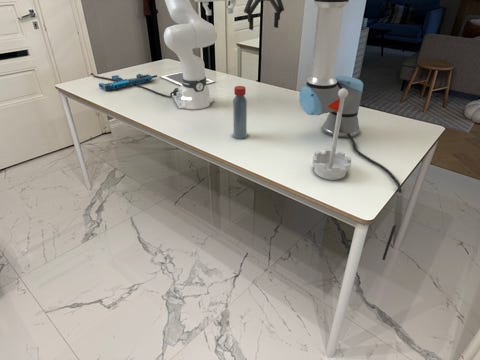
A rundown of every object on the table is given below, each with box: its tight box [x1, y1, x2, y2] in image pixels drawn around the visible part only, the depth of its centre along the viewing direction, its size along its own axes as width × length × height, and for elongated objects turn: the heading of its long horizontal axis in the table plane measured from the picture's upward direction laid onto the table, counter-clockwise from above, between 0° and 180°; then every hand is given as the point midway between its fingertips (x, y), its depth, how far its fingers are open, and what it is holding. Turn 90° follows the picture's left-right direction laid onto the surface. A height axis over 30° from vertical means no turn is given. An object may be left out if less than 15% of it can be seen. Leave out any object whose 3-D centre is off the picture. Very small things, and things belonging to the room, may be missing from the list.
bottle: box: [232, 95, 248, 140], centre depth 140 cm, size 6×6×21 cm
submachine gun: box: [98, 73, 158, 91], centre depth 208 cm, size 34×4×25 cm
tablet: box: [160, 71, 216, 87], centre depth 213 cm, size 32×20×1 cm, turn 41°
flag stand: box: [312, 88, 352, 181], centre depth 113 cm, size 13×13×30 cm
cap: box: [233, 85, 247, 96], centre depth 135 cm, size 4×4×3 cm
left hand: (219, 14), depth 129 cm, fingers open, 8 cm apart
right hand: (263, 28), depth 163 cm, fingers open, 13 cm apart
